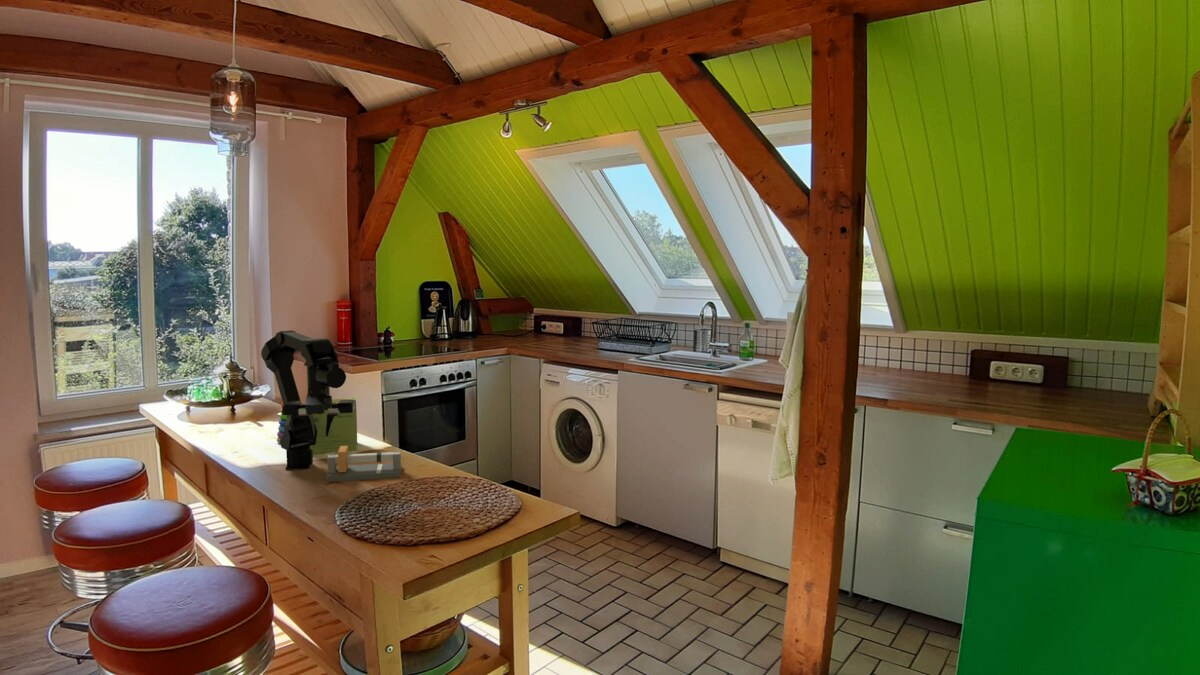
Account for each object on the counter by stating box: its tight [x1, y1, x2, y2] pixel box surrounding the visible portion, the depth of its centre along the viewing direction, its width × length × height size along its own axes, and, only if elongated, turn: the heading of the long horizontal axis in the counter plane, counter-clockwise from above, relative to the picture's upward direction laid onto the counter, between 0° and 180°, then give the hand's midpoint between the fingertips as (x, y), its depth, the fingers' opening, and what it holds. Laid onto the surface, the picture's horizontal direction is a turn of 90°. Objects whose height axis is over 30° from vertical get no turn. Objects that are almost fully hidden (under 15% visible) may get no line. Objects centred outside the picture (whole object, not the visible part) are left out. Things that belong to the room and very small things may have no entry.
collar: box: [337, 446, 349, 472], centre depth 196 cm, size 2×6×6 cm, turn 14°
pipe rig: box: [326, 450, 402, 482], centre depth 198 cm, size 20×9×6 cm, turn 104°
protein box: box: [310, 397, 358, 455], centre depth 222 cm, size 10×15×16 cm
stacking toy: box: [276, 401, 287, 444], centre depth 228 cm, size 8×8×19 cm
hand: (320, 436), depth 194 cm, fingers open, 3 cm apart
